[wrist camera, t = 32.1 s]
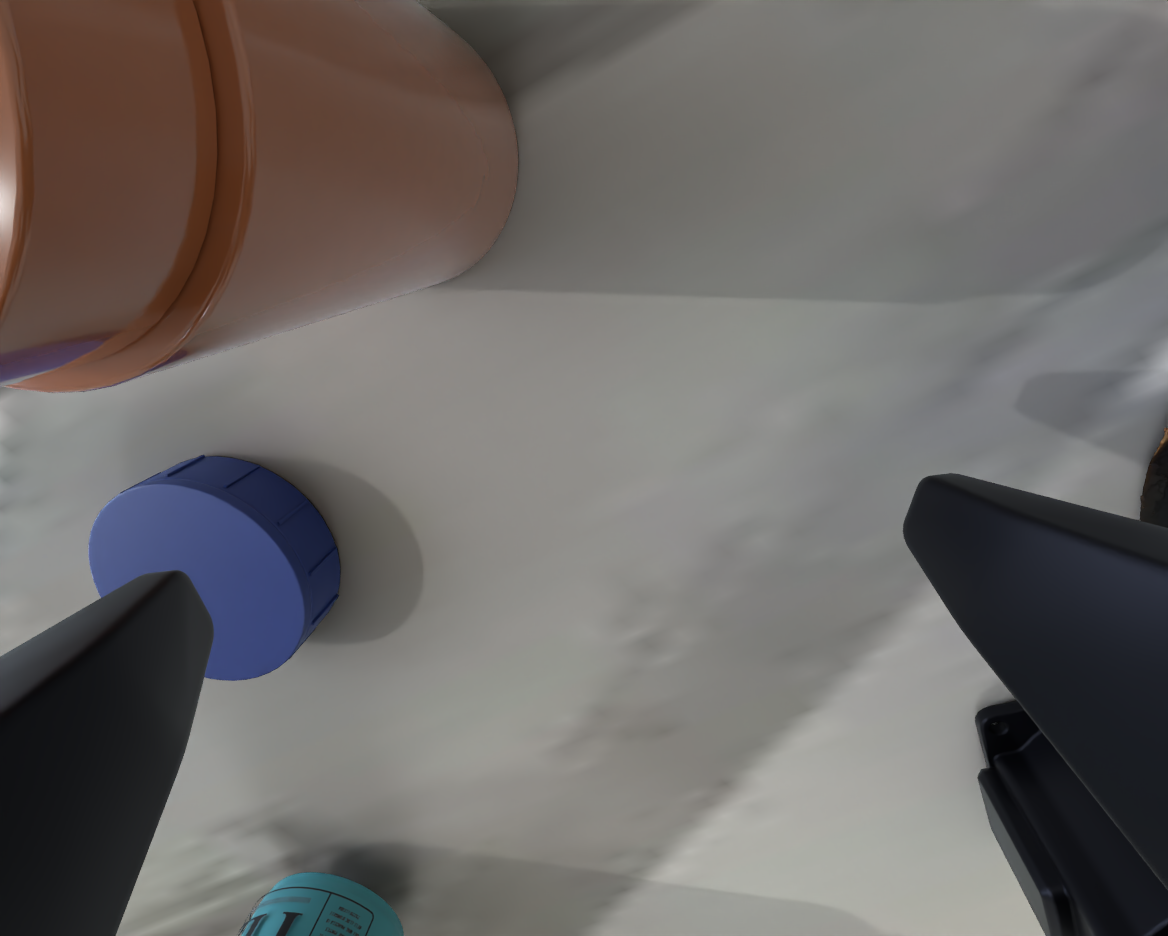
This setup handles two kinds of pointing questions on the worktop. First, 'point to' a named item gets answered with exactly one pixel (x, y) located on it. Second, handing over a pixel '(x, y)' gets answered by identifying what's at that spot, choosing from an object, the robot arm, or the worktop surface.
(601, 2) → the worktop surface
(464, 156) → the jar
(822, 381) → the worktop surface
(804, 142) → the worktop surface
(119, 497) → the jar lid
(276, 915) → the beverage bottle
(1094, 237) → the worktop surface
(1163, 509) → the skull
